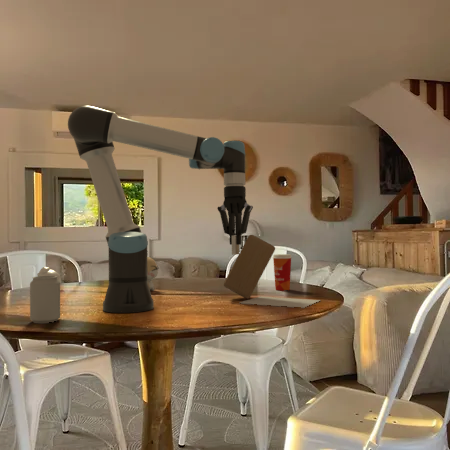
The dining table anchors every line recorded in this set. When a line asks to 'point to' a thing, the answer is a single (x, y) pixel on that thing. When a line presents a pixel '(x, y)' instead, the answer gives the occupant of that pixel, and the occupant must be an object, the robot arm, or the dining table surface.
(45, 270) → the ghost figurine
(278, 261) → the paper cup
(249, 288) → the block
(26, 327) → the dining table surface
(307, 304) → the felt mat
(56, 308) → the can
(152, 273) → the kitten
